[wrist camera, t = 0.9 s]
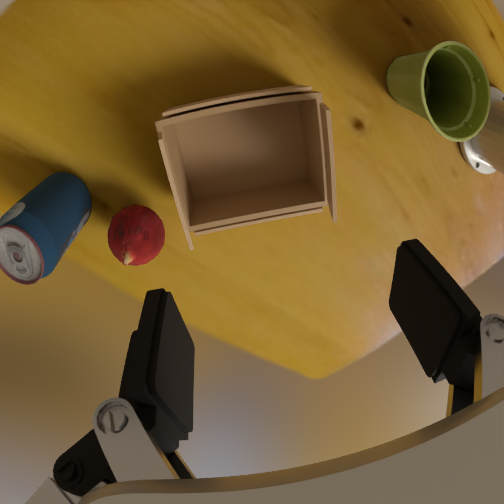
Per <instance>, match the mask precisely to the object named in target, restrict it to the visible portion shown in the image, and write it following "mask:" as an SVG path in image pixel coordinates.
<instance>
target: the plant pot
mask: <svg viewBox="0 0 504 504" xmlns="http://www.w3.org/2000/svg"><path fill="white" fill-rule="evenodd" d="M424 77H425V79H426V88H425V89H424ZM386 79H387V87H388V90H389V92H390V94H391V96H392V97H393V98H394V99H395V100H396V101H397V103H398V104H400V105H401V106H403V107H405V108H407V109H409V110H411V111H412V112H414V113H416V114H418V115H420V116H421V117H423V118H425V119H426V120H428V121H429V122H430V123H431V125H432V126H433V128H434V129H435V130H436V131H437V132H438V133H439V134H440V135H442V136H443V137H445V138H446V139H449V140H451V141H455V142H462V141H466V140H469V139H471V138H473V137H474V136H476V135H477V133H478V132H479V131H480V130H481V129H482V127H483V126H484V124H485V122H486V120H487V117H488V114H489V109H490V100H491V92H490V84H489V79H488V76H487V73H486V71H485V68H484V66H483V64H482V62H481V61H480V59H479V58H478V56H477V55H476V54H475V53H474V52H473V51H472V50H471V49H470V48H469V47H467V46H466V45H464V44H462V43H459V42H455V41H445V42H441V43H439V44H437V45H435V46H434V47H433V48H432V49H430V50H429V51H424V52H419V53H415V54H410V55H405V56H401V57H398V58H396V59H395V60H394V62H393V63H392V64H391V65H390V66H389V68H388V71H387V77H386Z"/></svg>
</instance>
